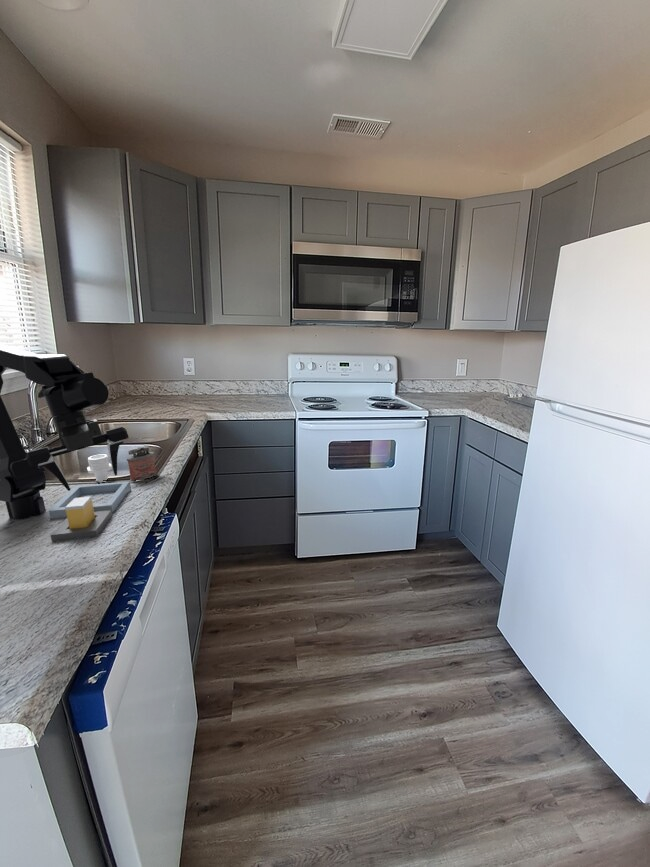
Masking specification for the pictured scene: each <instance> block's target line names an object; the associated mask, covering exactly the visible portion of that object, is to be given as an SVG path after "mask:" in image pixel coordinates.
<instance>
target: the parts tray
mask: <svg viewBox="0 0 650 867" xmlns="http://www.w3.org/2000/svg"><path fill="white" fill-rule="evenodd" d="M131 492H132V486H131V482H130V480H129V481H127V480H126V481H119V482H118V481H117V482H105V483H100V484H98V483H93V484H80V485H75V486H74V487H73V488H72V489H70V491H68V492H67V494H65V495H64V496H62V498H61V499H59V501H58V502H57V503H56V504H54V505H53V506H52V507H51V508H50V509H49V510H48V514H49V519H60V518H67V514H66V509H65V507H66V506H67V505H68V504H69V503H70V502H71V501H72V500H73V499H74V498H80V497H89V496H97V495H108V494H109V495H110V494H113V495H111V497H110V498H109V500H108V501H107V502H104V503H95V504H94V503H93V509H94V512H99V511H110V510H111V513H112V514H113V513H114V512H115V510H116V508H118V506H119V505H120V503H121V502H122V501H123V500H124V499H125V497H126V495H128V493H131Z"/></svg>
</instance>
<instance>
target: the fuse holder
mask: <svg viewBox="0 0 650 867" xmlns="http://www.w3.org/2000/svg"><path fill="white" fill-rule="evenodd" d="M94 514H95V519H94V521H93V522H92V523H91V524H90V526H89V527H85V528H74V529H70V528H69V523H68V519H67V517H65V519H64V520H63V521H62V522H61V523H60V524H59V525H58V526H57V527H56V529H54V531H52V533H51V534H50V539H51V542H59V541H68V540H79V539H88V538H96V537H99V535H100V534H101V532H102V531H103V529H105V526H107V524H108V522H109V521H110V520H111V519H112V517H113V513H111V510H110V511H99V512H94Z"/></svg>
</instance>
